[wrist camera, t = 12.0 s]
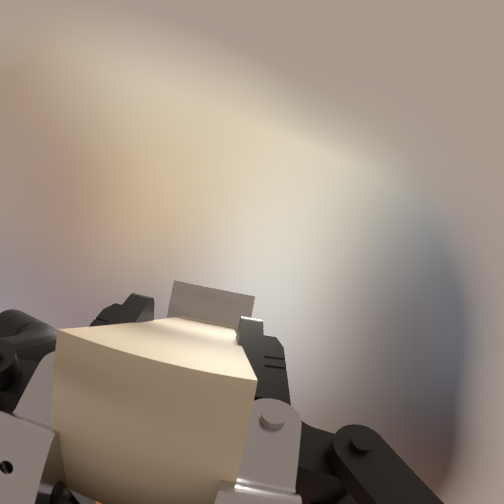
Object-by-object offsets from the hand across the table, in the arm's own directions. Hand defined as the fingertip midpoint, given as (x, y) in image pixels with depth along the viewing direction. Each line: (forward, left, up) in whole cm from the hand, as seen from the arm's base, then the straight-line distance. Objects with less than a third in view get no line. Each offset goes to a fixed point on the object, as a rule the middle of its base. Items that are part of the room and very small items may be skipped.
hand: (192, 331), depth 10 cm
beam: (+2, +3, -3) cm, 5 cm away
